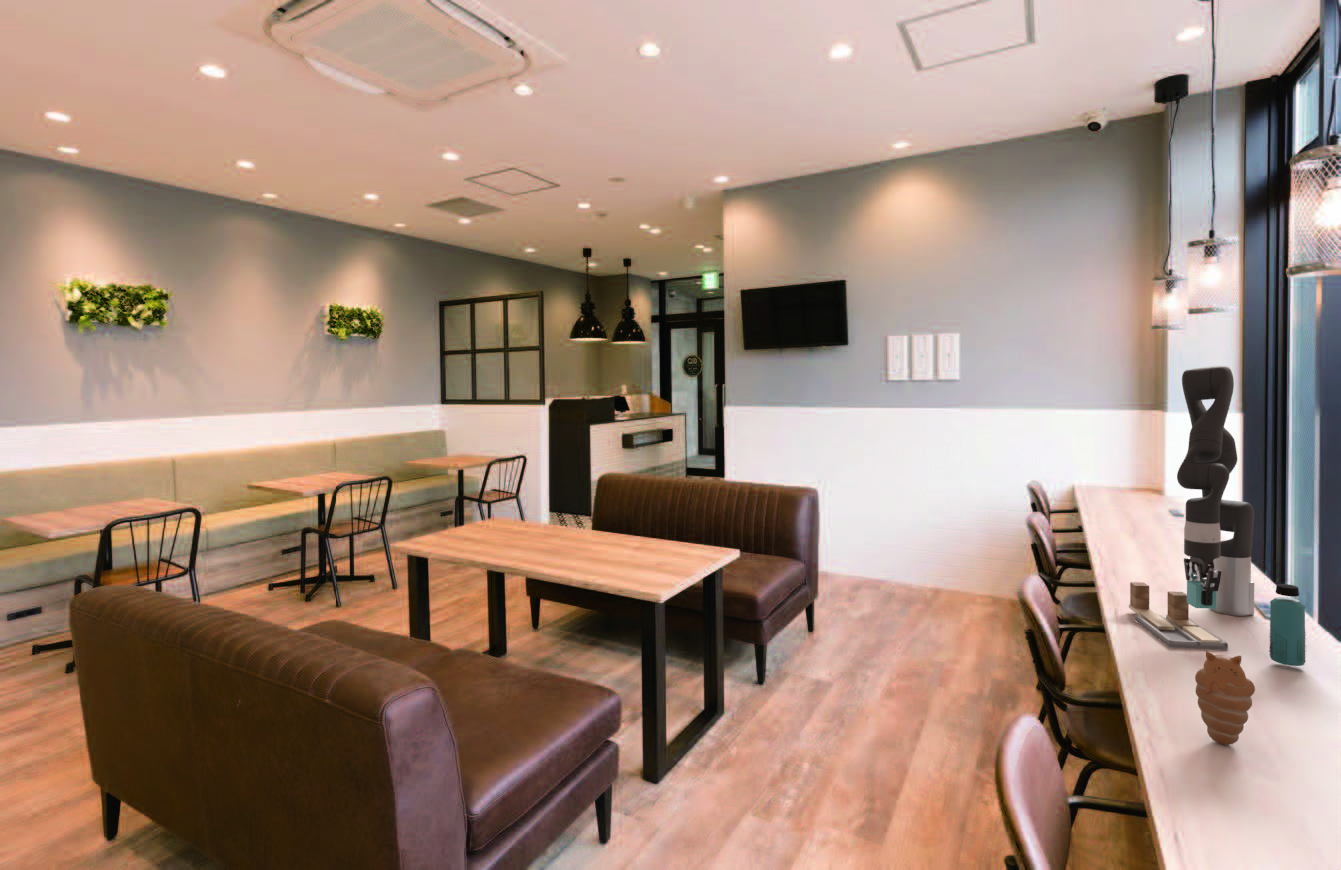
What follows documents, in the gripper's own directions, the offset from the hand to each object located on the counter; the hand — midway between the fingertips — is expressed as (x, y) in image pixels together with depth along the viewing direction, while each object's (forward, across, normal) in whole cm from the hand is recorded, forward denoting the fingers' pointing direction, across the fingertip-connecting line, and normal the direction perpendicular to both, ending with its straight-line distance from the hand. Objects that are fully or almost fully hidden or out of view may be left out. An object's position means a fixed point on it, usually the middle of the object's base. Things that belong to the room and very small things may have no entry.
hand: (1201, 601), depth 177 cm
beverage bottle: (+11, -14, -11) cm, 21 cm away
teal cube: (+1, 0, 0) cm, 1 cm away
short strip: (+10, +11, 0) cm, 15 cm away
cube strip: (+10, +14, +6) cm, 18 cm away
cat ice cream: (+12, -56, +22) cm, 61 cm away
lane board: (+11, +6, +3) cm, 13 cm away
